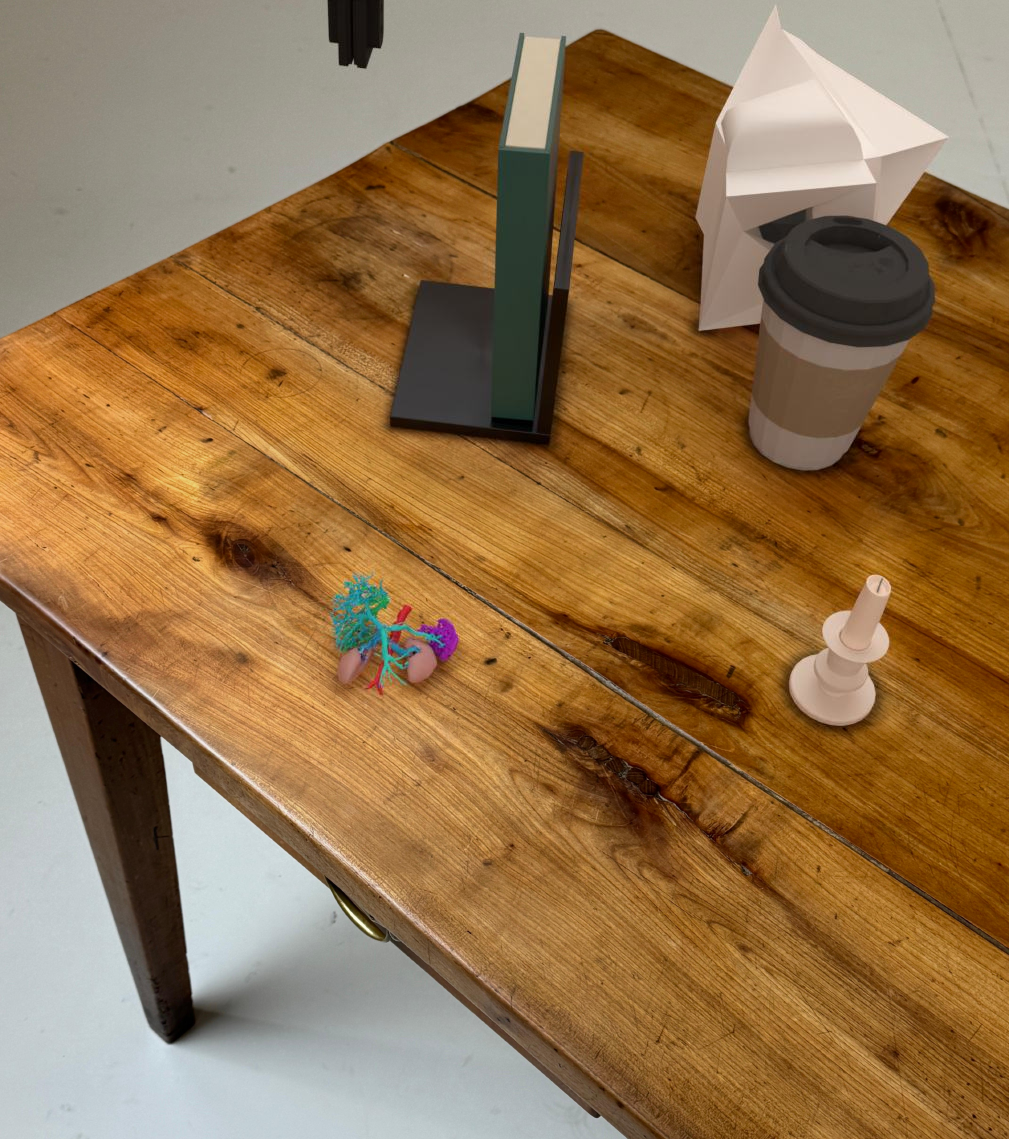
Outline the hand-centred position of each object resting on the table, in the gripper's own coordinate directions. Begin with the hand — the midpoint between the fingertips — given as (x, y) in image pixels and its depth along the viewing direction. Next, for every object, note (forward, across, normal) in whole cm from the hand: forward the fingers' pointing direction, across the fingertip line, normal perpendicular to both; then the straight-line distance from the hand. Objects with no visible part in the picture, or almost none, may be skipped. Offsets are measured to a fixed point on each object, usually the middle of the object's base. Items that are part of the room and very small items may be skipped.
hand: (356, 55), depth 75 cm
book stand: (+23, -9, -2) cm, 25 cm away
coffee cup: (+23, -32, +2) cm, 39 cm away
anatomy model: (+23, -6, +27) cm, 36 cm away
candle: (+23, -33, +25) cm, 47 cm away
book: (+12, -9, -2) cm, 15 cm away
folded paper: (+23, -31, -20) cm, 43 cm away
